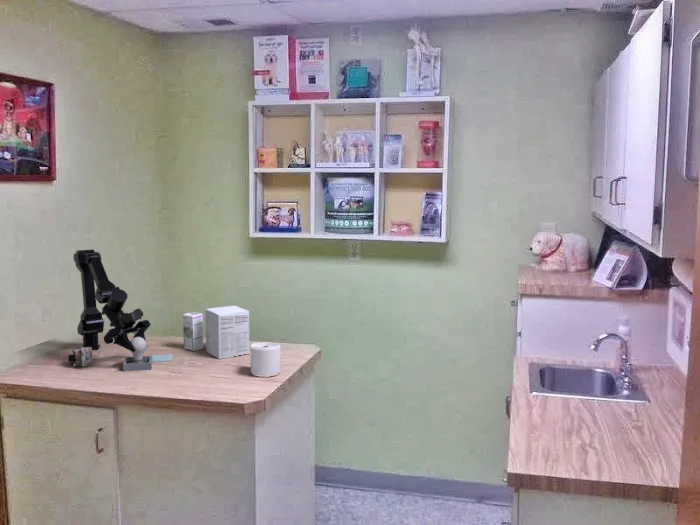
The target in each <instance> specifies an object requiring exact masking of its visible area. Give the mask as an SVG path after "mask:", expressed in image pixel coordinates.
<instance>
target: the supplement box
mask: <svg viewBox="0 0 700 525" xmlns="http://www.w3.org/2000/svg"><path fill="white" fill-rule="evenodd" d="M205 341H206V342H205V346H206V350H205V351H206V353H208V354H210V355H211V356H214V357H215V358H216V359H218V360H221V359H229V358H235V357H234V356H236V357H239V356H238V355H242V356H244V355H243V354H247V353H249V354H250V311H249V310H248V309H244V308H242V307H240V306H238V305H227V306H219V307H217V306H216V307H210V308H205Z"/></svg>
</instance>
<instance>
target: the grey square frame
mask: <svg viewBox="0 0 700 525" xmlns="http://www.w3.org/2000/svg"><path fill="white" fill-rule="evenodd" d="M152 367H153V362H152V356H151V355H143V359H142V363H134V357H133V356H125V357H124V360H123V363H122V371H123V372H132V371H133V372H136V371H148V370H149V371H150V370H152ZM134 370H135V371H134Z"/></svg>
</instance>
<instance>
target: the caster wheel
mask: <svg viewBox="0 0 700 525" xmlns="http://www.w3.org/2000/svg"><path fill="white" fill-rule="evenodd" d="M93 357H94V356H93V350H92V347H85V348H82V347H81V348H74V349H72V354H68V356H67V360H68V362H69V363H71V362H73V364H75V365H74V366H73V367H80V366H81V367H90V366H93V365H94V362H93V361H94V360H93ZM92 364H93V365H92Z"/></svg>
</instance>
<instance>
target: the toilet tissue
mask: <svg viewBox="0 0 700 525" xmlns="http://www.w3.org/2000/svg"><path fill="white" fill-rule="evenodd" d="M281 348H282V346H281V345H280V344H279V343H277V342H269V341H267V342H257V343H256V341H253V342H252V343H251V344H250V345H249V356H250V374H251V373H252V374H253V375H261V376H263V375H264V376H265V375H273V374H276V373H279V372H280V371H281V372H282V370H281V368H282V366H281V365H282V364H281V359H282V358H281V351H282V350H281ZM253 375H252V376H253Z"/></svg>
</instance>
